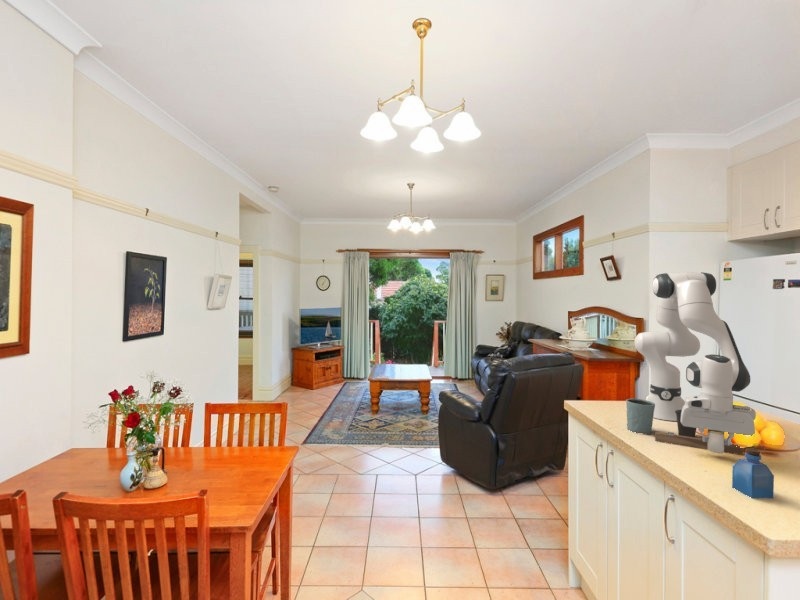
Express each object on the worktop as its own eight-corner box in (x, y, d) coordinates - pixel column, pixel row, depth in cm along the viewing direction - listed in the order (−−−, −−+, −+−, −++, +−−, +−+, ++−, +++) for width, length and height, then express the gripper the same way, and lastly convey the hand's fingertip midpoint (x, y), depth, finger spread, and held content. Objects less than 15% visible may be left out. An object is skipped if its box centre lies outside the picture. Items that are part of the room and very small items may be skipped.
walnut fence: (655, 439, 158) (655, 430, 158) (741, 453, 145) (742, 442, 145) (655, 441, 156) (655, 431, 156) (743, 455, 143) (743, 444, 143)
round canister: (706, 447, 144) (707, 427, 144) (722, 450, 142) (723, 429, 142) (708, 451, 141) (708, 431, 141) (725, 454, 138) (725, 433, 138)
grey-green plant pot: (623, 425, 175) (624, 397, 175) (650, 428, 172) (651, 399, 171) (628, 433, 165) (629, 403, 165) (657, 436, 162) (658, 405, 162)
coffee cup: (704, 439, 159) (705, 413, 159) (683, 439, 159) (684, 413, 159) (689, 432, 167) (690, 408, 167) (669, 432, 167) (670, 407, 167)
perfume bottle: (753, 487, 118) (754, 446, 118) (773, 498, 112) (774, 454, 112) (732, 487, 118) (733, 445, 118) (751, 498, 112) (752, 454, 112)
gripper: (753, 405, 139) (752, 446, 139) (680, 397, 149) (679, 435, 149) (758, 409, 133) (757, 452, 133) (681, 400, 144) (681, 440, 144)
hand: (715, 443), depth 141 cm, fingers closed on round canister, 4 cm apart
